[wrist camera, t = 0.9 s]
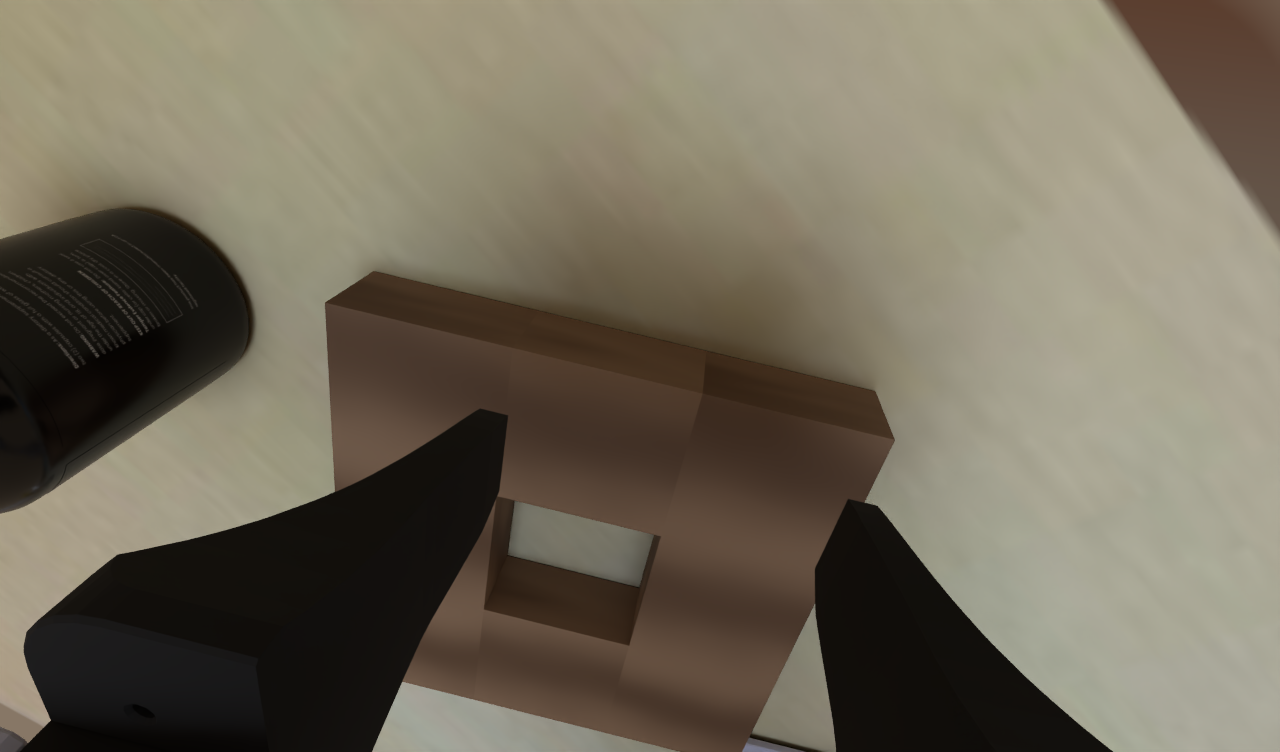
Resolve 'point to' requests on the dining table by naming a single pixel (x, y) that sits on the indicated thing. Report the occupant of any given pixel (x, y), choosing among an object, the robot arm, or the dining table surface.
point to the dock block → (609, 504)
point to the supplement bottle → (104, 339)
